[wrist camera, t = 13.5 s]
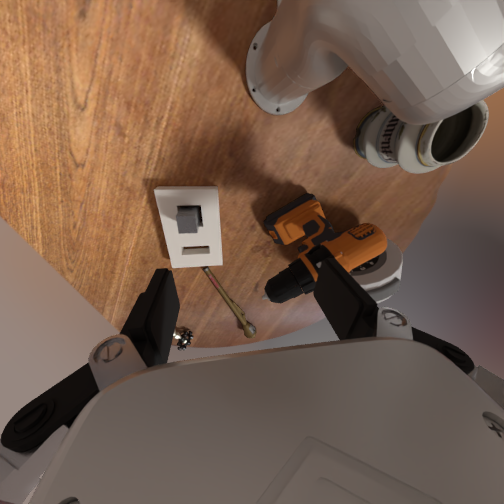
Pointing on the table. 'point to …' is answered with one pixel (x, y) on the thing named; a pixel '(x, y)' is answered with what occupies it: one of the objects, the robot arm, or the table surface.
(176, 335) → the valve
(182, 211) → the square peg
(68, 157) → the table surface
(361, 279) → the alarm clock
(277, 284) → the power drill
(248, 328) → the olive long knobbed bar
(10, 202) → the table surface
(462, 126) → the apothecary jar
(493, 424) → the robot arm
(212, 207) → the hole board
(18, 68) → the table surface
